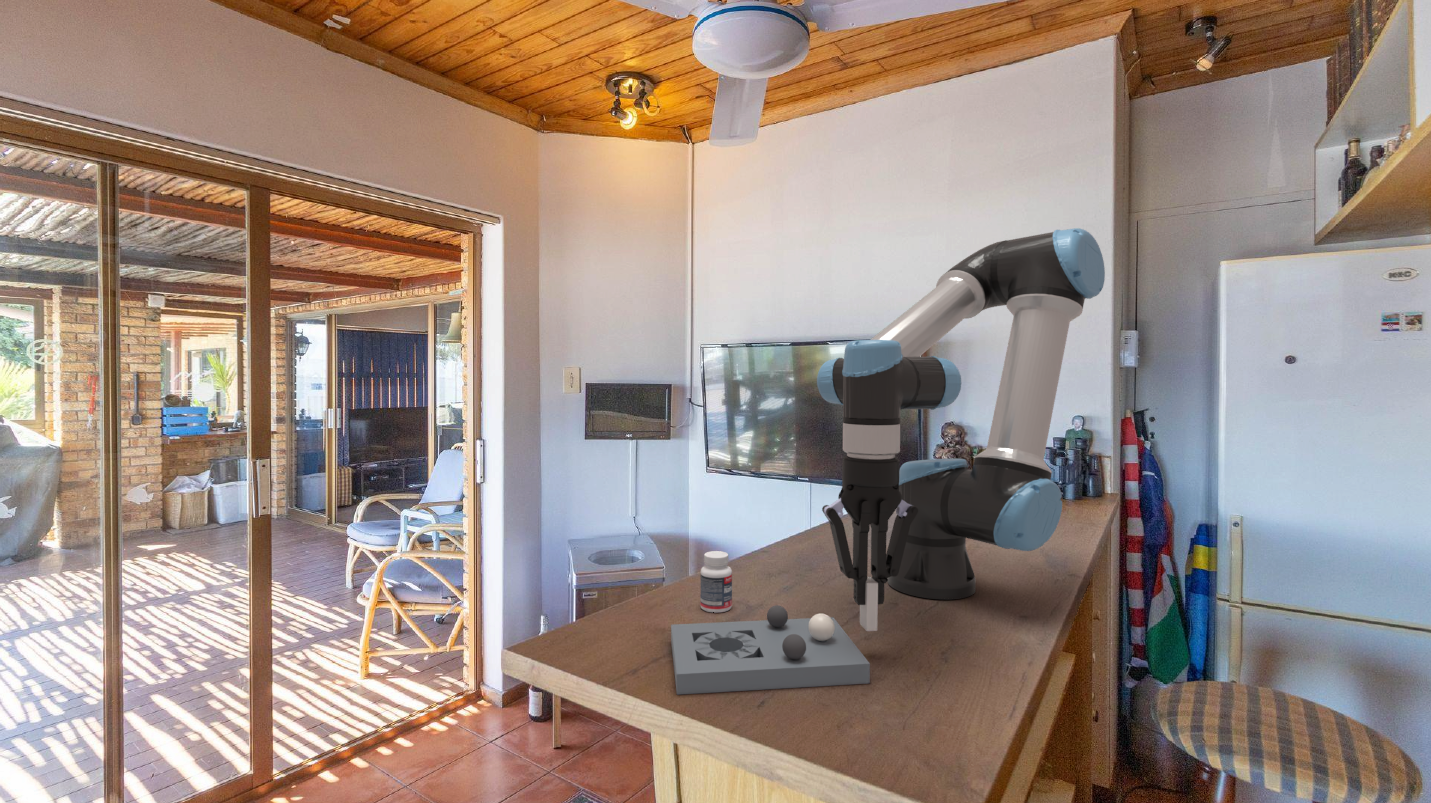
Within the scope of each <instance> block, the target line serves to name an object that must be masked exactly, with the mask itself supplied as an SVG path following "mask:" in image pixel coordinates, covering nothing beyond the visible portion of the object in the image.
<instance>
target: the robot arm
mask: <svg viewBox="0 0 1431 803" xmlns="http://www.w3.org/2000/svg"><path fill="white" fill-rule="evenodd" d="M1105 270H1106V269H1105V261H1104V256H1103V253H1102V251H1101V248H1100V245H1099V243H1098V241H1097V240H1096V238H1095V237H1094V236H1093V235H1092V234H1091V233H1090V232H1089V231H1087V230H1086V229H1084V228H1079V227H1078V228H1069V229H1055V230H1054V231H1052V232H1046V233H1041V234H1034V235H1029V236H1025V237H1019V238H1015V239H1007V240H1000V241H997V242H993V243H991V244H989V245H986V246H985V247H982V248H981V249H978V250H977V251H975V252H973V253H972V254H970V255H969V256H967V257H965V258H963V259H962V260H961V261H959V262H958V263H956V264H955V265H954V266H952V267H950V269H948V270H947V271H946V272H944V273H943V274H942V275H941V276H940V277H939V278H938V279H937V283H936V285H935V287H934V288H933V289H932V290H931V291H929V292H928V293H927V294H926V295H924V296H923V297H922V298H921V299H919V300H918V301H917V302H915V304H914V305H912V306H911V307H909V308H908V309H906V311H905V312H903V313H902V314H901V315H899V316H898V317H897V318H896V319H894V320H893V321H892V322H890V323H889V324H888V325H887V326H886V327H884V328H883V329H882V330H880V332H878V333H877V334H876V335H874V336H873V337H872V338H871V339H859V340H851V341H850V342H848V343H847V344H846V346H845V347H844V354H843V357H837V358H833V359H832V358H831V359H828V360H826V361H825V362H824V363H823V364H822V365H821V366H820V368H819V370H818V372H817V376H816V377H817V378H816V386H817V390H818V392H819V394H820V396H821V398H822V399H823V400H825V401H826V402H827V403H830V404H835V405H842V408H843V411H842V412H843V414H842V416H843V417H842V420H843V422H842V451H843V452H844V453H846V454H845V455H843V457H842V459H841V460H842V466H841V467H842V468H841V471H842V473H841V482H842V483H841V485H842V486H841V490H840V492H839V493H838V498H837V500H836V501H834V502H832V503H831V504H830V505H828V504H825V505H823V506H822V508H821V509H822V510H821V511H822V512H823V514H824V516H825V517H826V519H827V520H828V522H829V527H830V531H831V535H832V538H833V544H834V548H835V553H836V556H837V557H836V558H837V561H838V562H837V563H838V565H839V570H840V572H842V574H843V575H844V576H845V577H846V578H848V579H852V580H853V600H854V602H855V603H856V604H857V605H858V606H859V624H860V626H861V627H862V628H863V629H864V630H865V631H866V632H878V615H879V614H878V606H879V605H883V604H884V601H885V584H888V585H889V586H890V587H891V588H892V589H894V590H896V591H897V592H901V593H903V594H905V595H909V596H914V597H917V598H924V599H929V600H945V601H946V600H959V599H965V598H968V597H970V596H972V595H973V594H975V592H976V584H977V582H976V576H975V572H974V569H973V567H972V563H971V559H970V556H969V554H968V551H967V547H966V544H967V542H966V541H967V540H966V539H969V540H973V541H977V542H981V543H986V544H989V545H993V546H997V547H999V548H1001V549H1005V550H1006V549H1007V550H1010V549H1011V550H1018V551H1022V552H1030V551H1032V552H1033V551H1035V550H1037V549H1039V548H1041V547H1043V545H1045V544H1046V542H1048V541H1049V540H1050V539H1051V537H1052V536H1053V534H1054V533H1055V531H1056V529H1057V527H1058V525H1059V522H1060V519H1061V515H1062V511H1063V501H1062V500H1061V498H1062V497H1063V495H1062V491H1061V489H1060V487H1059V486H1058V484H1057V483H1055V482H1054V481H1053V480H1051V479H1052V473H1053V471H1052V470H1051V469H1050V468H1049V466H1048V465H1047V463H1046V462H1045V459H1044V458H1045V453H1046V448H1047V444H1048V443H1047V442H1048V437H1049V432H1050V428H1051V421H1052V418H1053V412H1054V411H1053V410H1054V406H1055V402H1056V401H1055V400H1056V396H1057V391H1058V387H1059V380H1060V375H1061V370H1062V365H1063V360H1064V359H1063V358H1064V355H1065V354H1064V353H1065V349H1066V344H1067V338H1068V332H1069V328H1070V324H1071V322H1072V321H1074V320H1075V319H1077V318H1078V317H1080V316H1081V315H1082V313H1083V311H1084V310H1083V309H1084V304H1085V300H1087V299H1089V300H1090V299H1093V298H1094V297H1097V296H1098V295H1100V293H1101V292H1102V290H1103V289H1104V285H1105V280H1106V278H1105V277H1106V271H1105ZM1002 306H1003V307H1004V306H1006V309H1007V311H1009V312H1010V313H1011V315H1013V318H1012V322H1011V327H1010V328H1011V329H1010V332H1009V333H1010V334H1009V337H1008V342H1007V347H1006V353H1005V356H1004V362H1003V367H1002V372H1001V378H1000V381H999V382H1000V383H999V386H998V392H997V396H996V401H995V406H994V410H993V415H992V420H991V426H990V430H989V434H988V435H989V436H988V441H987V445H986V448H985V449H984V450H983V451H981V452H980V453H978V454H976V455H975V456H974V459H973V465H972V469H969V464H968V461H967V460H966V459H965V458H934V459H933V458H931V459H921V460H919V459H917V460H909V461H907V462H904V463H903V464H901V463H900V459H899V457H897V456H896V455H898V454H899V453H900V452H901V448H900V447H901V411H902V410H932V411H933V410H936V409H940V408H946V407H948V406H950V405H951V404H953V403H954V402H955V401H956V400H957V398H958V397H959V394H960V393H961V390H962V375H961V372H960V370H959V369H958V368H959V367H957V366H956V364H955V363H954V362H953V361H951V360H950V359H947V358H944V357H937V356H936V355H933V356H932V355H931V356H922V355H924V353H926V352H927V351H928V350H929V349H930V348H932V346H934V345H935V344H937V343H938V342H939V341H940V340H941V339H942V338H943V337H944V336H946V334H948V333H949V332H950V331H952V330H953V329H954V328H955V327H956V326H958V325H959V323H960V322H962V321H963V320H965V319H972V318H975V317H976V316H978V315H979V314H980V313H981V312H983V311H984V310H987V309H991V308H995V307H1002ZM900 464H901V466H900ZM843 509H844V510H845V511H846V513H847V514H848V516H849V517H850V518H851V522H852V523H851V524H852V529H853V530H852V531H853V533H852V537H853V538H852V557H851V550H850V547H849V544H848V539H847V534H846V530H845V526H844V523H843V521H842V518H843V517H844V512H843V511H844V510H843ZM895 512H896V516H895V518H894V522H893V525H892V530H891V533H890V537H889V542H888V546H887V532H888V531H889V520H890V518H891V517H892V516H893V515H894V513H895ZM870 531H871V532H870ZM869 532H870V539H871V540H870V575H871V576H868V569H869V568H868V567H869V566H868V562H869V561H868V559H869V557H868V556H869V555H868V554H869Z"/></svg>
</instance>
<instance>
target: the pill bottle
mask: <svg viewBox="0 0 1431 803" xmlns="http://www.w3.org/2000/svg"><path fill="white" fill-rule="evenodd" d="M703 556H704V557H703V563H704V566H702V567H701V568H700V598H699V600H700V602H699V605H700V609H702V610H703V611H704V612H708V613H713V612H714V613H716V614H717V613H718V614H719V613H725V612H727V611H730V610H731V609H732V607H733V570H732V568H731V567H730V566H729V565H728V564H729V561H730V560H729V554H728V552H725V551H720V550H719V551H718V550H713V551H712V550H711V551H707V552H705V553H704V555H703Z"/></svg>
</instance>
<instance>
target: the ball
mask: <svg viewBox="0 0 1431 803" xmlns="http://www.w3.org/2000/svg"><path fill="white" fill-rule="evenodd" d="M830 617H831V616H830V615H827V614H825V613H816V614H814V615H812V617H810V618H811V619H810V621H809V626H808V627H809V632H810V634H811V635H812V637H813V638H815V639H816V640H819V641H826V640H828V639H830V638H831V637H832V635H833V634H834V630H835V626H834V622H833V620H832V619H831V618H830Z"/></svg>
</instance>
